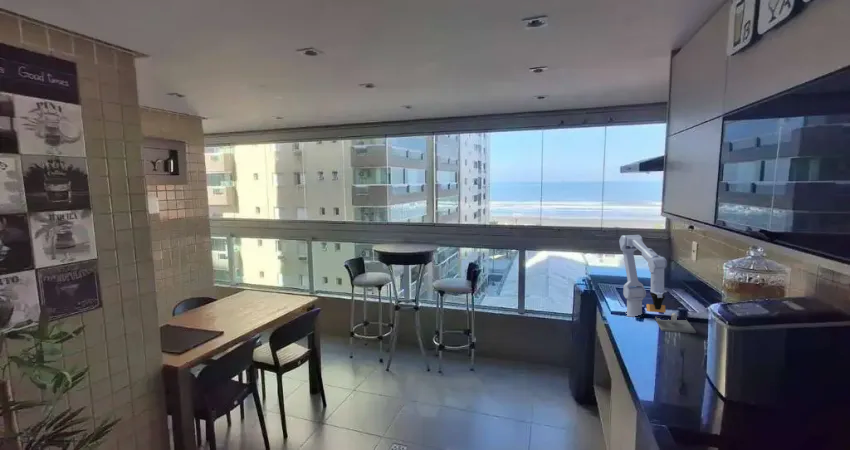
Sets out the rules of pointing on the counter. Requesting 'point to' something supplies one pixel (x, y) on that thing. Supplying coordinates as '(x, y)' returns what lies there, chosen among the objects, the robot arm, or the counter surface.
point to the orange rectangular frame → (652, 308)
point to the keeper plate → (675, 325)
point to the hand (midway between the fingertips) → (657, 308)
